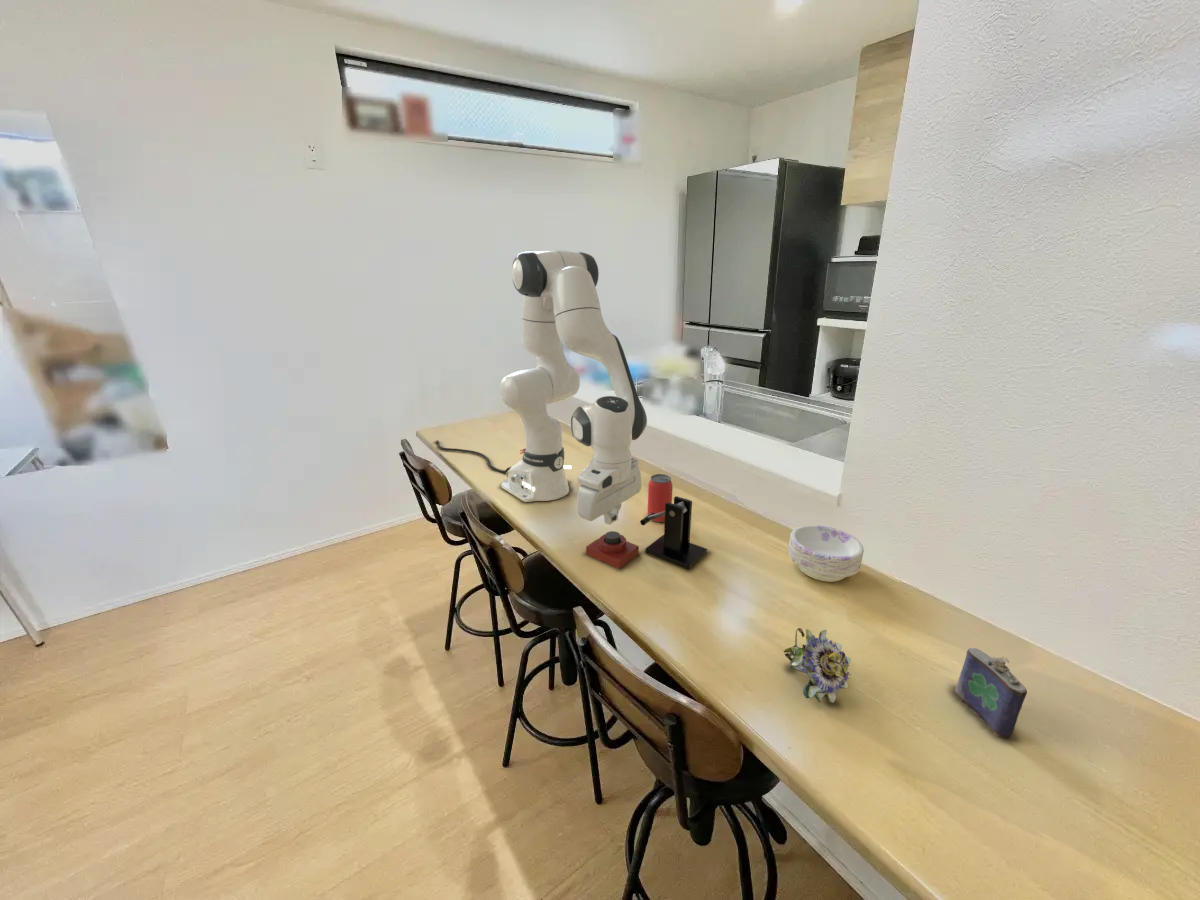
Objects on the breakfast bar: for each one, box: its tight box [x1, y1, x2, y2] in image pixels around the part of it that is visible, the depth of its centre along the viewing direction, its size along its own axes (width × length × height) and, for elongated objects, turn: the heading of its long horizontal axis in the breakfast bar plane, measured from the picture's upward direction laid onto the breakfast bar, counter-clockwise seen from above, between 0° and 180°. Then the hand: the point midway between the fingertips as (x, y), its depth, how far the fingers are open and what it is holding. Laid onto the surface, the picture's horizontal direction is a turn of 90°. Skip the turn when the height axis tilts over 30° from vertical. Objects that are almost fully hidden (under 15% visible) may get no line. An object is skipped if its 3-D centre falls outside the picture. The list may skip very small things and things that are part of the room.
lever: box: [639, 502, 687, 526], centre depth 119 cm, size 12×5×2 cm
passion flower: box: [783, 627, 852, 704], centre depth 82 cm, size 11×11×12 cm
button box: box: [585, 533, 640, 569], centre depth 119 cm, size 10×8×4 cm
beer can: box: [647, 473, 674, 523], centre depth 135 cm, size 7×7×12 cm
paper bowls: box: [787, 524, 865, 583], centre depth 112 cm, size 15×15×8 cm
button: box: [604, 530, 621, 545], centre depth 119 cm, size 4×4×2 cm
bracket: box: [645, 496, 708, 570], centre depth 118 cm, size 12×9×14 cm
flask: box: [954, 647, 1028, 740], centre depth 75 cm, size 9×3×11 cm, turn 8°
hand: (611, 521), depth 117 cm, fingers closed
